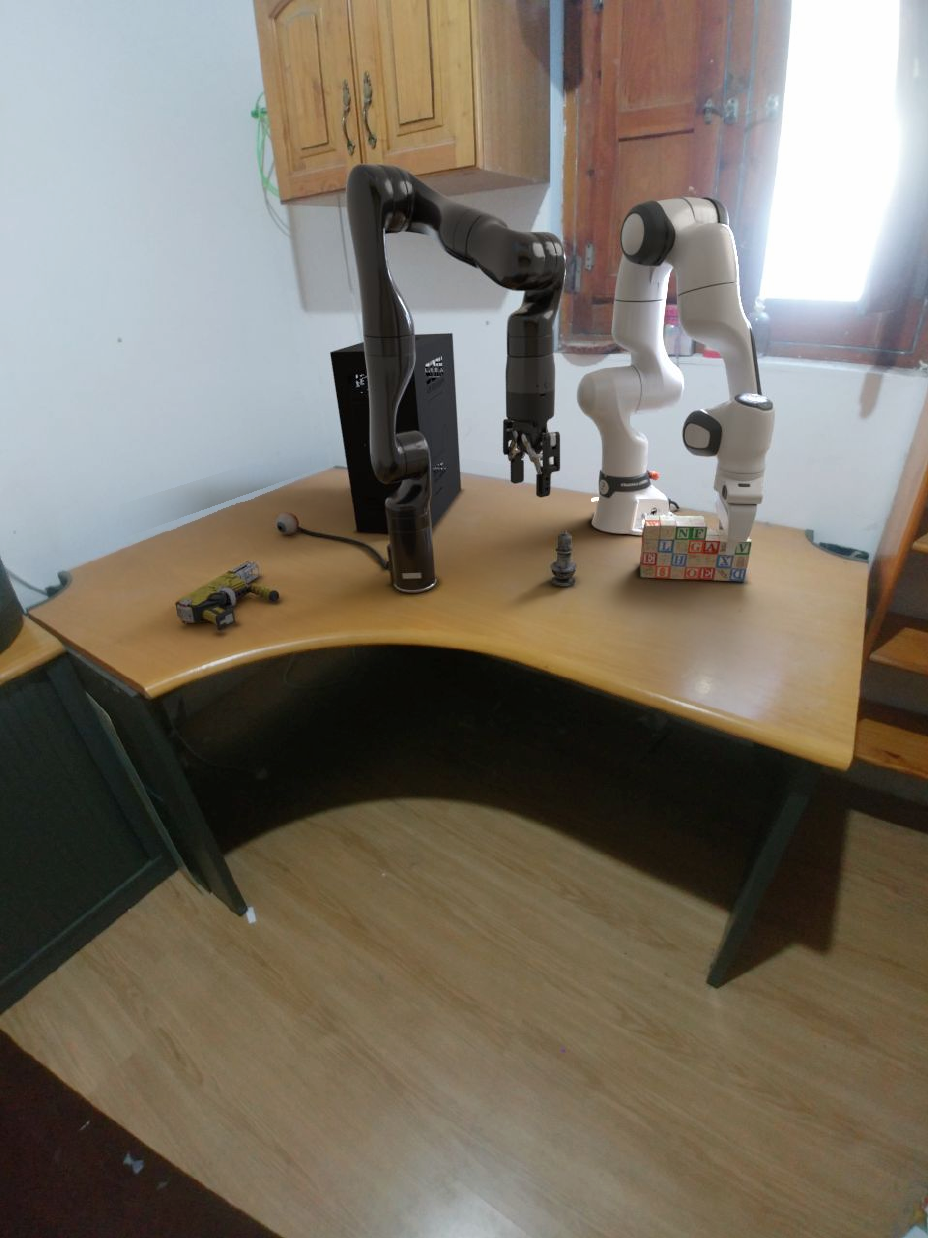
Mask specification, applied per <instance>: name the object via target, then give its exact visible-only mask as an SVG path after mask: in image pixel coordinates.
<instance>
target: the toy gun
mask: <svg viewBox="0 0 928 1238" xmlns="http://www.w3.org/2000/svg"><path fill="white" fill-rule="evenodd" d="M251 562H252V561H251V560H247V561H245V562H244V563H242V564H240V565H239V566H237V567H235V568H234V569H232V570H228V571H226V572H225V573H223V574H221V575H220V576H218V577H216V578H214V579H212V580H211V581H209V582H207V583H205V584H203V585H202V586H201V587H199V588H197V589H195V590H193V591H192V592H189V594H187V595H185V596H183V597H181V598H180V599H178V600H176V601H175V603H174V606H175V610H176V615H177V617H178V618H179V620H181V622H182V623H183V624H185V623H186V624H187V625H189V624H192V623H193V624H198V623H199V624H200V623H204V622H207V621H209V622H212V623H213V624H215V625H216V628H217V631H222V630H224V629H226V628H228V627H230V626H231V625H233V624H235V623H236V619H235V611H234V609H233V607H234V606H236V605H237V600H239V599H241V598H242V597H245V596H247V595H249V594H252V595H255V596H258V597H259V598H263V599H265V600H268V601H270V602H272V603H275V602H277V601H278V600H279V599H280V593H279V591H278V590H276V589H271V588H269V587H268V588H267V587H266V586H263V585H262V584H261V585H260V584H258V583H256V582H254V583H252V584H251V585H248V584H249V583H250V582H253V581H254V580H255V579H257V578H259V577H260V567H259V564H258V563H257V562H256V561H253V562H252V563H251ZM256 569H257V573H254V571H255V570H256Z"/></svg>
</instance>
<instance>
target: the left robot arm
mask: <svg viewBox="0 0 928 1238" xmlns="http://www.w3.org/2000/svg"><path fill="white" fill-rule="evenodd" d="M345 208H346V209H345V210H346V216H347V222H348V228H349V234H350V239H351V245H352V250H353V256H354V263H355V268H356V276H357V284H358V292H359V301H360V310H361V312H360V313H361V327H362V338H363V339H362V340H363V342H364V351H365V360H366V368H367V378H368V389H369V405H370V456H371V462H372V467H373V470H374V473H375V475H376V477H377V478H378V480H379V481H380V482H382V483H384V484H391V483H396V482H400V481H402V483H401V485H400V486H399V487H398V488H397V489H396V490H395V491H394V492H393V493H392V494H391V495H389V496H388V497H387V499H386V501H385V508H386V516H387V524H388V532H389V533H388V540H389V543H388V544H387V545H386V551H387V561H386V562H385V560H384V558H383V557H382V556H381V554H379V552H377V550H375V548H373V547H372V546H370V545H368V544H367V543H364V542H362V541H360V540H355V539H352V538H349V537H343V536H338V535H334V534H328V533H322V532H317V531H313V530H309V529H306V528H303V527H301V526H299V527H298V529H297V531H301V532H303V533H306V534H309V535H313V536H317V537H323V538H328V539H333V540H338V541H344V542H346V543H347V542H348V543H351V544H355V545H358V546H360V547H363V548H365V549H366V550H368V551H370V552H371V553H372V554H373V555H374V556H375V557H376V559H378V560H379V562H380V563H381V565H382V566H383V568H384V569H387V570H388V572H389V576H390V583H391V585H392V586H394V588H395V589H396V590H397V591H399V592H401V593H405V594H418V593H424V592H427V591H429V590H431V589H433V588H434V587H435V586H436V585H437V577H436V564H435V563H436V562H435V553H434V541H433V529H432V527H431V516H430V499H431V462H430V452H429V448H428V444H427V442H426V440H425V438H424V436H423V435H422V434H421V433H420V432H419V431H416V430H408V431H403V432H398V433H395V426H396V414H397V409H398V406H399V403H400V400H401V398H402V396H403V393H404V391H405V389H406V387H407V385H408V382H409V380H410V377H411V375H412V372H413V369H414V366H415V360H416V350H415V335H416V332H415V324H414V318H413V316H412V314H411V310H410V308H409V307H408V305H407V302H406V301H405V299H404V297H403V295H402V294H401V291H400V289H399V288H398V287H397V283H396V281H395V280H394V278H393V276H392V272H391V270H390V266H389V260H388V252H387V245H386V244H387V243H386V242H387V241H386V235H395V234H400V233H411V234H419V235H423V236H426V237H428V238H431V239H433V240H434V241H435V242H436V244H437V245H438V246H439V248H440V249H441V250H442V251H444V252H445V253H446V254H447V255H448V256H450V257H451V258H453V259H455V260H457V261H459V262H462V263H464V264H466V265H468V266H470V267H472V268H474V269H476V270H480V272H481V273H483V274H484V275H485V276H486V277H488V279H490V280H491V281H492V282H493V283H495V284H496V285H498V286H500V287H501V288H504V289H506V290H509V291H512V292H523V297H522V301H521V304H520V306H519V308H518V309H516V310H515V311H513V312H511V313H510V315H508V317H507V320H506V363H505V416H506V418H505V419H503V421H502V454H503V455H504V456H507V459H508V461H509V463H510V483H512V484H520V483H523V482H524V479H525V460H524V457H525V456H526V455H527V456H528V458H529V461H530V462H531V463H533V465H534V468H535V471H536V474H535V477H536V478H535V486H536V487H535V494H536V497H538V498H545V497H549V496H550V495H551V490H552V489H551V488H552V487H551V482H552V474H553V473H555V472H560V471H561V434H560V432H559V431H552V432H550V431H549V429H548V422H549V420H551V419H553V418H554V417H555V405H556V403H555V400H556V399H555V398H556V396H555V395H556V364H555V322H556V319H557V314H558V311H559V308H560V303H561V299H562V293H563V289H564V286H565V285H564V284H565V281H566V280H565V279H566V274H567V256H566V251H565V248H564V245H563V243H562V241H561V239H560V238H559V237H558V236H557V235H556V234H554V233H552V232H549V231H520V230H519V231H518V230H516V229H515V230H514V229H511V228H510V227H509V226H508V224H507V223H506V222H505V221H504V220H503V219H502V218H500V217H498V216H496V215H494V214H491V213H489V212H488V211H487V212H486V211H484V210H481V209H479V208H476V207H473V206H472V205H468V204H465V203H463V202H460V201H458V200H455V199H452V198H450V197H448V196H447V195H444V194H443V193H440V192H439V191H437V190H436V189H434V188H433V187H432V186H430V185H428V184H427V183H425V182H424V181H422V180H421V179H420V178H419V177H418V176H416V175H415V174H413V173H411V172H410V171H408V170H406V169H405V168H403V167H401V166H398V165H393V164H376V163H358V164H355V165H354V166H353V167H352V168H351V169H350V171H349V172H348V175H347V178H346V183H345ZM552 458H553V461H552Z"/></svg>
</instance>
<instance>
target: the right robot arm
mask: <svg viewBox="0 0 928 1238" xmlns="http://www.w3.org/2000/svg"><path fill="white" fill-rule="evenodd" d="M729 219H730V218H729V212H728V209H727V207H726V205H724V203H722V202H721V201H720V200H717V199H715V198H711V197H706V196H703V197H691V196H678V197H674V198H668V199H661V200H647V201H644V202H640V203H638V204H637V205H634V206H633V207H632V208H631V209H630V210H629V211H628V212H627V213H626V215H625V217H624V219H623V222H622V224H621V229H620V236H619V242H620V248H621V251H622V256H621V258H620V263H619V267H618V272H617V277H616V283H615V288H614V289H615V290H614V297H613V298H614V299H613V308H612V309H613V312H612V321H611V336H612V339H613V341H614V343H616V345H618V346H619V347H620V348H622V349H624V350H626V351H628V352H629V354H630V365H623V366H613V367H612V366H611V367H604V368H603V367H602V368H600V369H596V370H594V371H590V372H587V373H585V374H584V375H583V377H582V378H581V379H580V381H579V383H578V386H577V389H576V402H577V405H578V407H579V409H580V411H581V412H582V413H583V414H584V415H585V416H586V417H588V418H589V419H590V420H591V421H592V422H593V424H594V425H595V426H596V428H597V431H598V432H599V433H598V434H599V436H600V441H601V468H600V470H599V474H598V492H599V493H598V496H597V497H592V498H591V502H596V501H597V502H596V507H595V511H594V514H593V517H592V520H591V525H592V526H593V527H594V528H595V529H597V530H599V531H601V532H605V533H611V534H623V535H625V534H626V535H632V536H633V535H634V536H642V531H643V528H644V517H645V515H657V516H677V515H676V514H675V513H674V512H672V511H670V509H671V505H673V506H674V507H675V509H676V510H679V509H680V506H679V505H678V503H677V502H675V500H671V498H669V497H667V496H666V495H665V494H664V493H663V492H661V491H660V490H659V489H658V488H656V487H655V486H654V485H652V483H651V480H653V481H658V479H659V478H660V473H659V472H657V471H654V470H651V471H649V470H648V469H647V466H648V458H649V457H648V456H649V447H650V443H649V440H648V438H647V437H646V435H645V434H644V433H643V432H641V431H639V430H637V429H636V428H633V427H632V426H631V425H632V424H631V416H634V415H643V414H652V413H658V412H661V411H665V410H668V409H670V408H672V407H673V408H674V407H675V406H677V404H678V403H679V401H680V400H681V399H682V397H683V393H684V391H685V390H684V389H685V379H684V376H683V373H682V371H681V370H680V369H679V368H678V366H676V365H675V364H674V363H673V362H672V361H671V359H670V357H669V356H668V353H667V351H666V347H665V343H664V322H665V314H666V313H665V311H666V304H667V303H666V302H667V296H668V295H667V294H668V284H669V278H670V274H671V272H672V271H673V270H674V272H675V277H676V307H677V308H676V309H677V318H678V323H679V325H680V328H681V330H682V332H683V333H684V334H685V335H686V336H687V337H689V338H690V339H691V340H693V341H694V342H697V343H699V344H701V345H705V346H706V347H709V348H710V349H712V350H714V351H715V352H716V353H718V355H720V357H721V359H722V361H723V364H724V368H725V375H726V382H727V387H728V396H729V400H727V401H725V402H722V403H719V404H715V405H711V406H706V407H705V406H704V407H701V408H698V409H697V410H696V409H695V410H693V411H692V412H690V413H689V415H688V416H687V417H686V418H685V421H684V422H683V426H682V430H681V431H682V433H681V437H682V438H681V439H682V443H683V446H684V447H685V449H686V450H687V451H688V452H689V453H690V454H692V455H693V456H697V457H703V458H704V457H706V458H707V457H708V458H710V457H711V458H712V457H714V458H716V459H717V463H716V468H715V475H714V480H713V486H712V488H713V490H714V491H715V492H716V496H715V499H714V508H715V511H716V513H717V516H718V528H717V530H724V532H725V534H726V537H727V544H725V549H724V551H725V554H726V555H734V554H735V549H736V547H737V545H738V543H739V542H746V541H747V540H748V538H749V537H750V536H751V534H752V530H753V526H754V523H755V520H756V516H757V511H758V505H761V504H762V502H763V498H764V491H763V484H764V483H763V482H764V475H765V471H766V455H767V453H768V452H769V449H770V447H771V443H772V439H773V433H774V428H775V422H776V421H775V419H776V418H775V417H776V411H775V405H774V403H773V401H772V400H771V399H770V398H768V397H766V396H764V395H763V393H762V386H761V378H760V371H759V363H758V355H757V348H756V341H755V336H754V331H753V328H752V325H751V322H750V321H749V320H748V318H747V317H746V315H745V313H744V309H743V305H742V302H741V296H740V277H739V275H740V273H739V264H738V256H737V249H736V244H735V239H734V235H733V232H732V230H731V229H730V227H729V225H730V224H729V223H730V220H729Z"/></svg>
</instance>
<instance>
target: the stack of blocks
mask: <svg viewBox="0 0 928 1238" xmlns="http://www.w3.org/2000/svg"><path fill="white" fill-rule="evenodd" d="M752 543H753V541H752V539H751V537H750V536H749V538H748V540H747V541H746V542H739V543H738V545H737V547H736V549H735V554H734V555H726V554H725V551H724V549H725V544H727V537H726V534H725V532H724V530H718V529H708V525H707V522H706V520H705V517H704V516H703V515H676V516H657V515H645V517H644V528H643V531H642V535H641V548H640V557H639V559H640V560H639V572H640V578H653V579H671V580H700V581H722V582H745V579H746V574H747V569H748V565H749V560H750V554H751V548H752Z"/></svg>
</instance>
